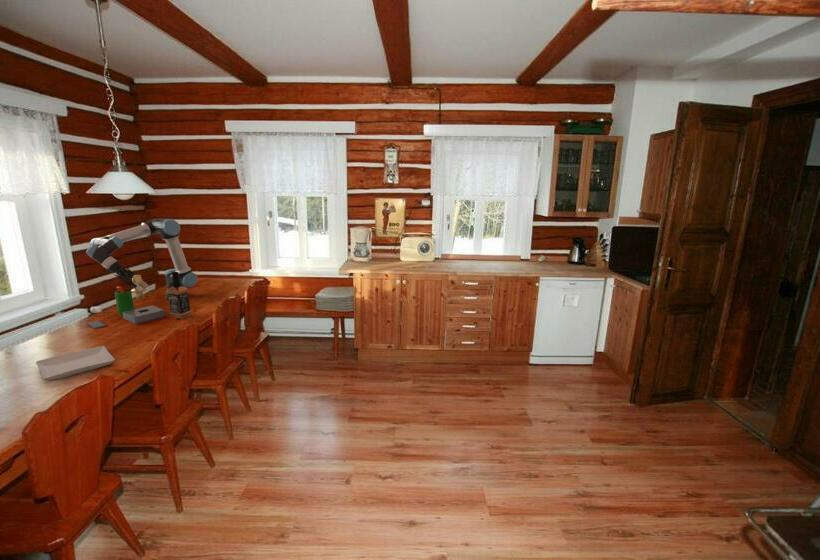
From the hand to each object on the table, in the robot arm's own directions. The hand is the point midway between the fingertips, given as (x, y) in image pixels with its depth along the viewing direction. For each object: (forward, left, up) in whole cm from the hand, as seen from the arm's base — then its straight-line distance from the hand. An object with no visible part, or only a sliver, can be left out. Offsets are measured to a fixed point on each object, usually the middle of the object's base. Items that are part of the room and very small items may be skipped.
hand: (144, 288), depth 255 cm
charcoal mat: (+21, -15, -22) cm, 34 cm away
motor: (+4, -26, -22) cm, 34 cm away
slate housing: (+2, -2, -22) cm, 22 cm away
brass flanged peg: (+2, -2, -6) cm, 7 cm away
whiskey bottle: (-15, +13, -22) cm, 29 cm away
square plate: (+52, +46, -22) cm, 73 cm away
